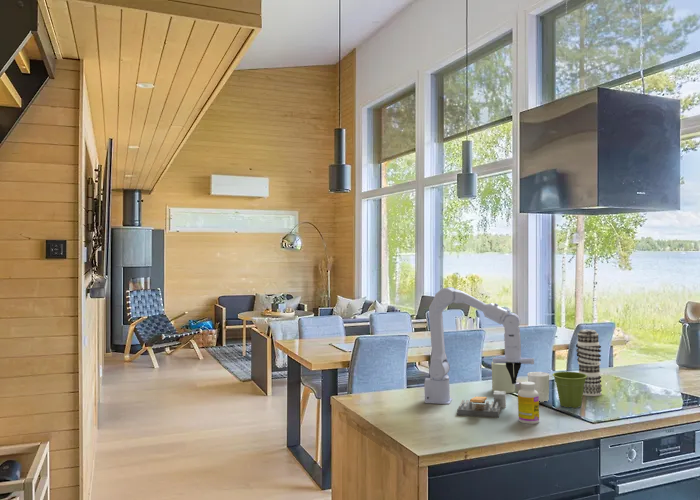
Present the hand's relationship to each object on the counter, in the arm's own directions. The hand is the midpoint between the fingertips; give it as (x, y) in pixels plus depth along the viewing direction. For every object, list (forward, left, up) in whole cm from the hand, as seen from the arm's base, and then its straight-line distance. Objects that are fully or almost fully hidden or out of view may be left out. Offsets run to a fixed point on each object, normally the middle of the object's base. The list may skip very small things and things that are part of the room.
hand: (514, 383), depth 208 cm
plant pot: (+19, +6, -9) cm, 22 cm away
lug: (-5, -1, -8) cm, 10 cm away
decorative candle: (+27, +27, -9) cm, 39 cm away
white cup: (+8, +12, -9) cm, 17 cm away
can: (-6, +25, -9) cm, 27 cm away
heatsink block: (-12, -11, -9) cm, 18 cm away
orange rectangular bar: (-12, -11, -5) cm, 17 cm away
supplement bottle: (+5, -18, -9) cm, 21 cm away
